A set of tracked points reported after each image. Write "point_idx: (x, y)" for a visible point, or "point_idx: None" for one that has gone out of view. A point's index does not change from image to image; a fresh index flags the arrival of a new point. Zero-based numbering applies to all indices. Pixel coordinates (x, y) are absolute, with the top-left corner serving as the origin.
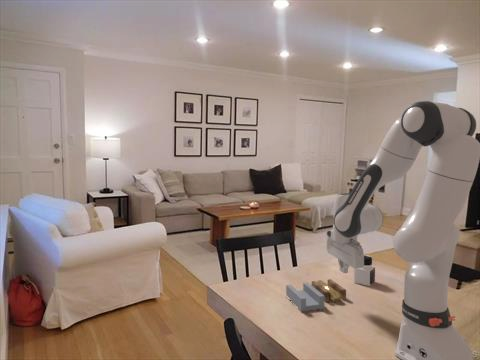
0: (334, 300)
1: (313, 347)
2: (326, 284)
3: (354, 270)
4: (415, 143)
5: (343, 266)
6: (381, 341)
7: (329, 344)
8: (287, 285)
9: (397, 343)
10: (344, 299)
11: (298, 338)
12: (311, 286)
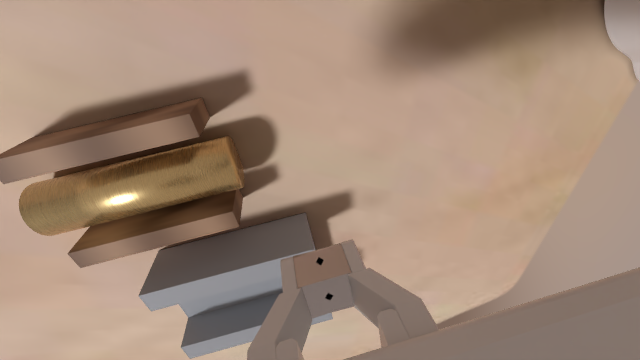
0: (240, 166)
1: (501, 264)
2: (100, 201)
3: None
4: None
5: (376, 325)
6: (565, 88)
7: (507, 232)
8: (195, 355)
9: (633, 49)
10: (204, 107)
11: (457, 287)
12: (196, 285)
